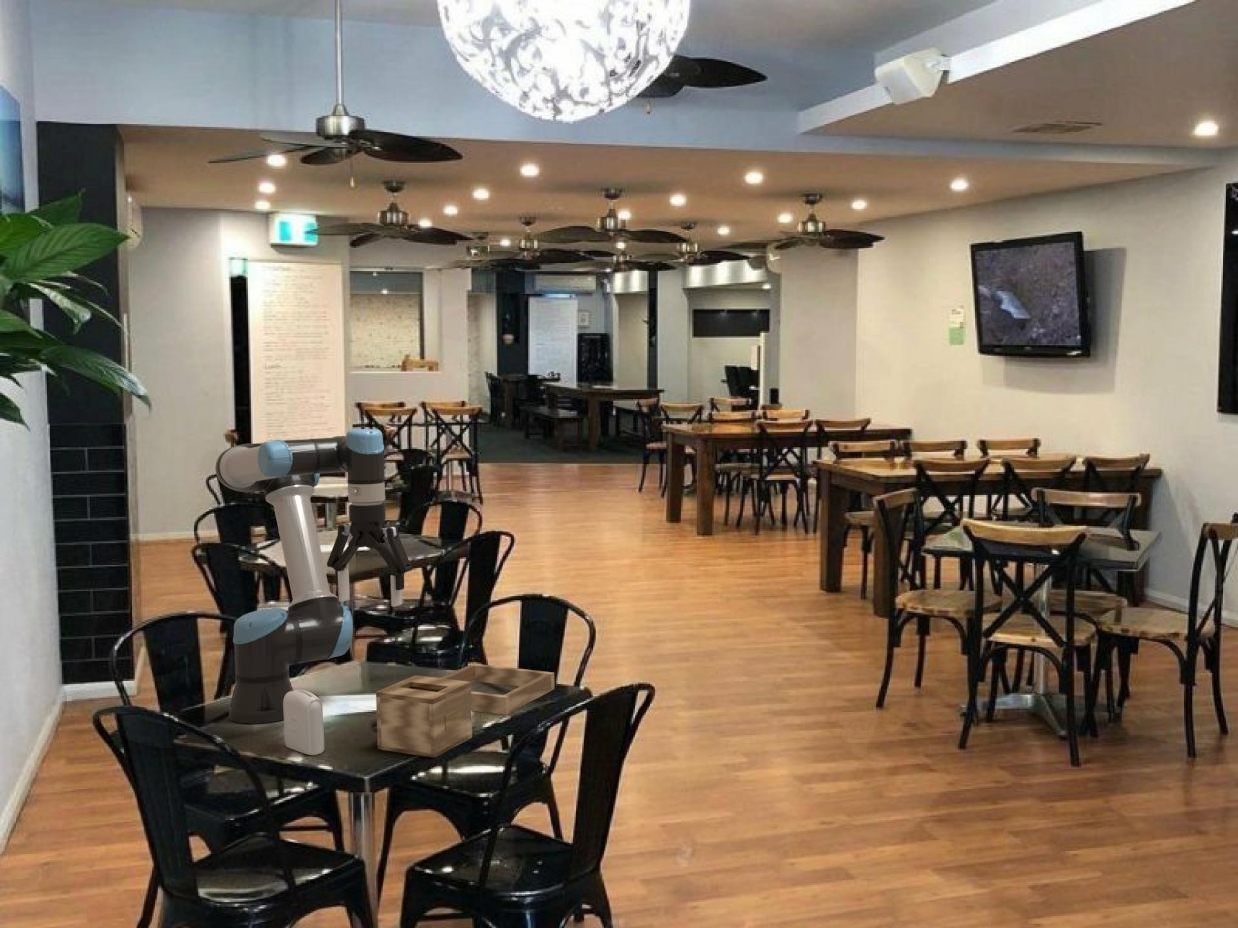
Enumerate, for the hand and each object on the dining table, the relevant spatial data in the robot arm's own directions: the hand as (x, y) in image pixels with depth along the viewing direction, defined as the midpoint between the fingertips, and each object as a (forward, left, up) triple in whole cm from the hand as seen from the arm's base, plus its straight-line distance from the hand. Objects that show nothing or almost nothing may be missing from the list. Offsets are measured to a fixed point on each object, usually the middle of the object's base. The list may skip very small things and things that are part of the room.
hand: (370, 602), depth 252 cm
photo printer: (-8, -13, -29) cm, 33 cm away
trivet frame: (+7, +35, -29) cm, 46 cm away
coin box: (+13, 0, -29) cm, 32 cm away
